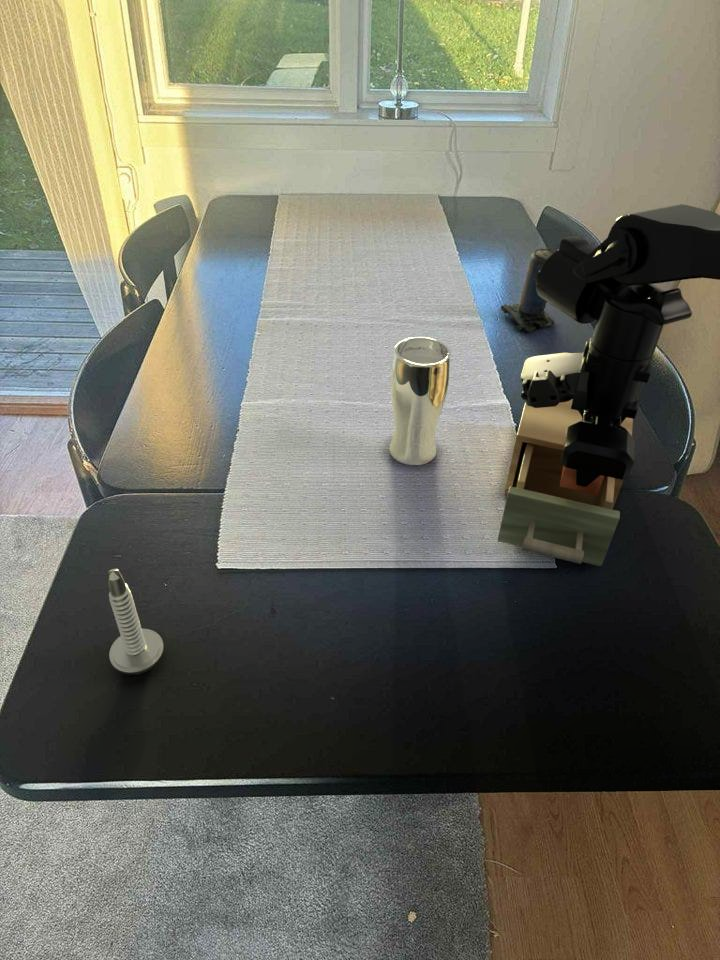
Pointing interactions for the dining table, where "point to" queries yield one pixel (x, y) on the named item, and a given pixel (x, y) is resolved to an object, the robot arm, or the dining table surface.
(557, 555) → the drawer
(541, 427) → the cabinet
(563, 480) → the block
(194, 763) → the dining table surface
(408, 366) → the beer glass
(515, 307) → the grey post with base
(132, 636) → the screw
